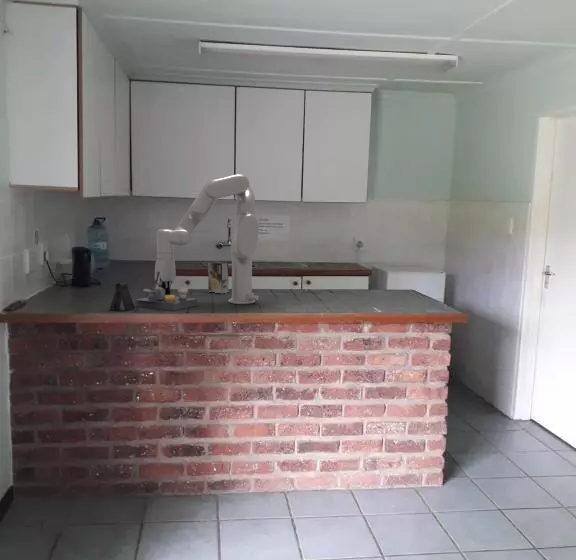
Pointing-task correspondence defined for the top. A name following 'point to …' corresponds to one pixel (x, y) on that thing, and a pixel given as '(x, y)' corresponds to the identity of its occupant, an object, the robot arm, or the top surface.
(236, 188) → the robot arm
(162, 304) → the console
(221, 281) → the coffee box
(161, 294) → the slider knob
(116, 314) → the top surface
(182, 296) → the ivory button
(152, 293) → the rocker paddle
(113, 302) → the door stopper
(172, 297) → the amber button
